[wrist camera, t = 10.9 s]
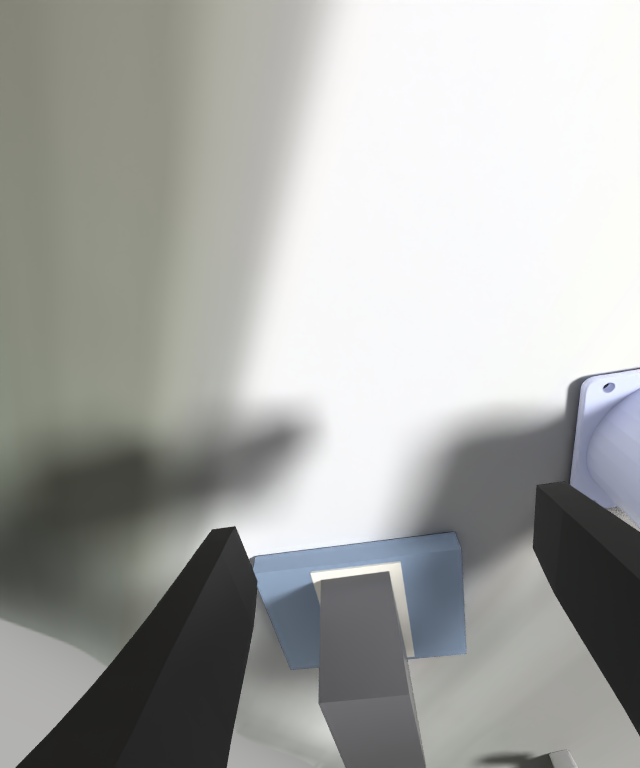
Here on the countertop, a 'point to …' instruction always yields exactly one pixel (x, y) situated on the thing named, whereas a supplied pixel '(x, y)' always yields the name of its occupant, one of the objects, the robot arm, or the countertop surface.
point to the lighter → (562, 759)
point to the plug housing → (367, 674)
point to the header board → (398, 556)
